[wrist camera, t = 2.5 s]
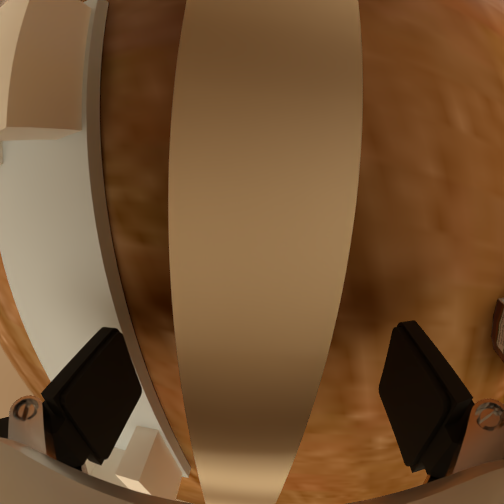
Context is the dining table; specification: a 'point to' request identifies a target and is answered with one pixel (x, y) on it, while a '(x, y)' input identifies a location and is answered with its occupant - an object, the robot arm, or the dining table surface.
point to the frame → (69, 217)
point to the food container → (498, 328)
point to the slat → (260, 225)
